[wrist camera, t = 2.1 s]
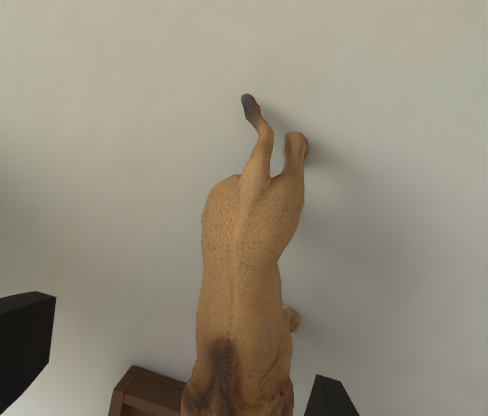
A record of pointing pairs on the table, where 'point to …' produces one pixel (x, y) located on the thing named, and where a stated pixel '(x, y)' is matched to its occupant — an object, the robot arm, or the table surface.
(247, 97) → the lion figurine
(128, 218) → the table surface
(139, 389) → the tray
